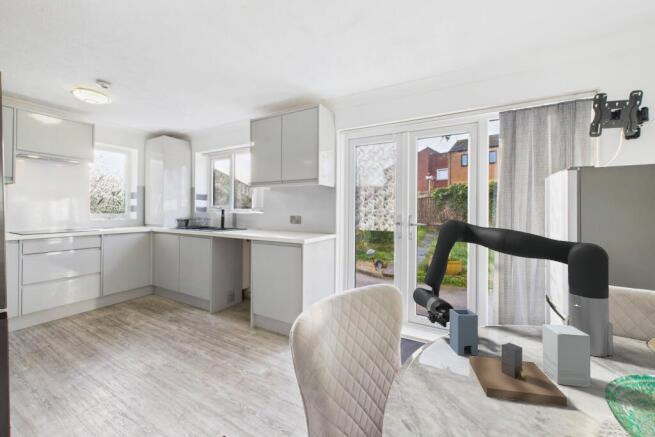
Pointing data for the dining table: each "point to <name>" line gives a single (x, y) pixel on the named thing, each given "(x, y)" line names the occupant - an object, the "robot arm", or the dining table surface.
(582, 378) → the supplement box
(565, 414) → the dining table surface
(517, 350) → the post
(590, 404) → the dining table surface
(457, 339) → the sleeve
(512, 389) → the base plate
